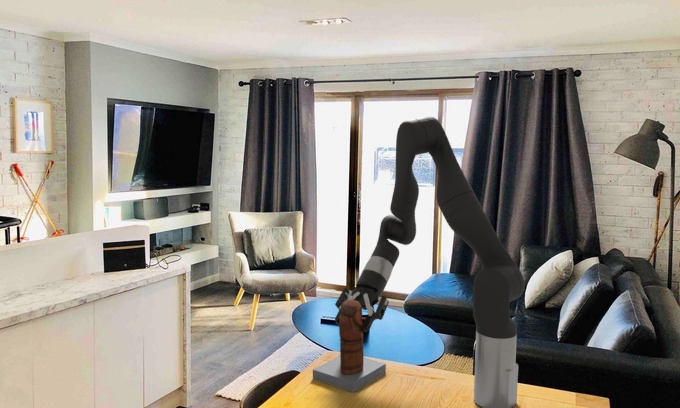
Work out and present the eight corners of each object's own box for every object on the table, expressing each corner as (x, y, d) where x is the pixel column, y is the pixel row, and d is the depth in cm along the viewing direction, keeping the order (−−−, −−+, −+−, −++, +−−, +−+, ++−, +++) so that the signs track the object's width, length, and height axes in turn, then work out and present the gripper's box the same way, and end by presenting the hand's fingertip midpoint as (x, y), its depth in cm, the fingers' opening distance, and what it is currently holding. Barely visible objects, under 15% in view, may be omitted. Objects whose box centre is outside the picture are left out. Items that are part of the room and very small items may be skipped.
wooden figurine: (362, 376, 140) (363, 307, 138) (337, 375, 141) (338, 306, 139) (364, 358, 152) (364, 294, 150) (340, 357, 152) (341, 293, 150)
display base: (385, 372, 149) (385, 363, 148) (353, 392, 137) (353, 382, 137) (346, 360, 157) (346, 352, 156) (312, 378, 145) (312, 369, 144)
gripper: (348, 265, 155) (323, 314, 147) (392, 272, 147) (367, 325, 139) (359, 279, 160) (335, 328, 152) (402, 287, 151) (378, 340, 144)
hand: (350, 327), depth 145 cm, fingers open, 8 cm apart
